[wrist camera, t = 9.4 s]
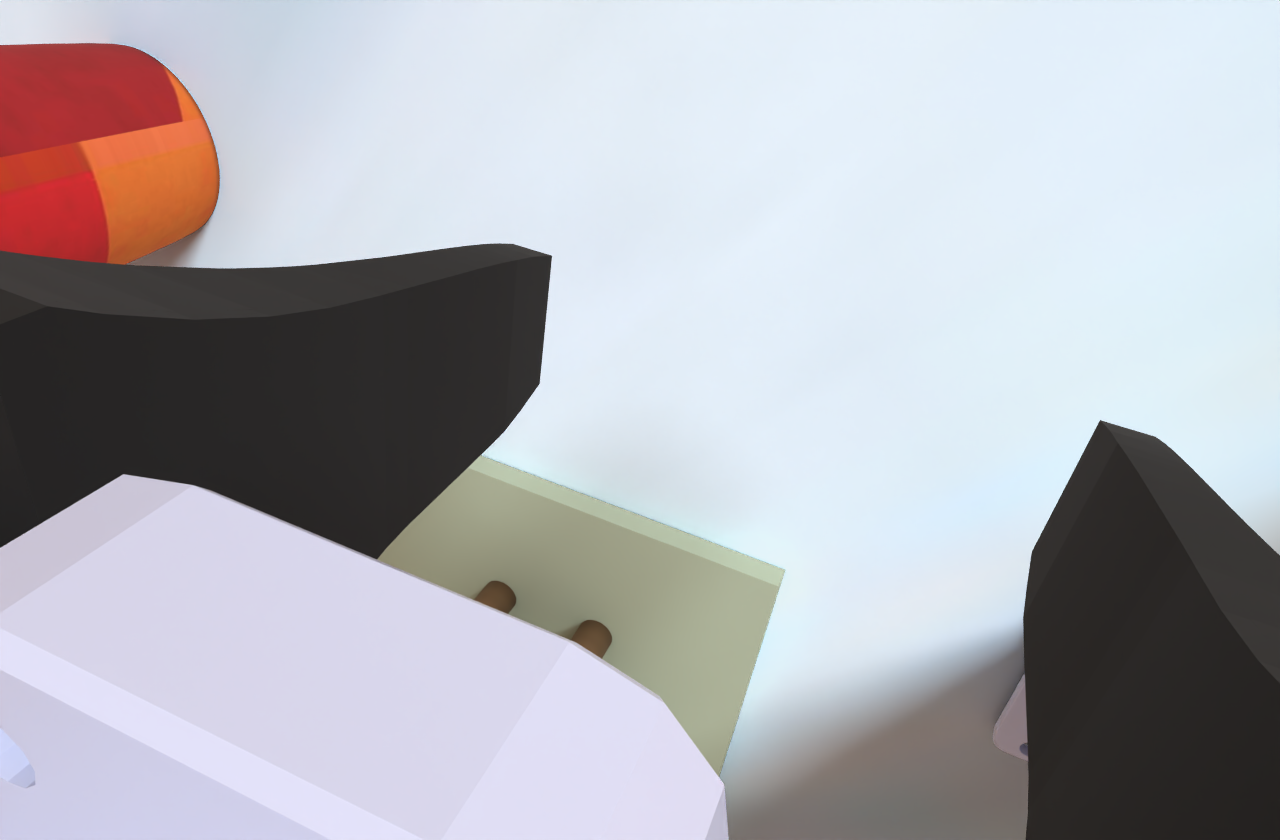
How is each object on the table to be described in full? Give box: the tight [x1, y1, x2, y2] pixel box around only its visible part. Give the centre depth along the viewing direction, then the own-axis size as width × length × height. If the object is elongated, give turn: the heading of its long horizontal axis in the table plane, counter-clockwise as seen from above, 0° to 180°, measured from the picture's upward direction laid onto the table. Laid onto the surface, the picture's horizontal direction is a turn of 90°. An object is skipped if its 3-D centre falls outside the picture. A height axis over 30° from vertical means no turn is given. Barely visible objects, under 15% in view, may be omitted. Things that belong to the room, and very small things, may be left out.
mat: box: [377, 455, 785, 777], centre depth 31 cm, size 14×16×1 cm
